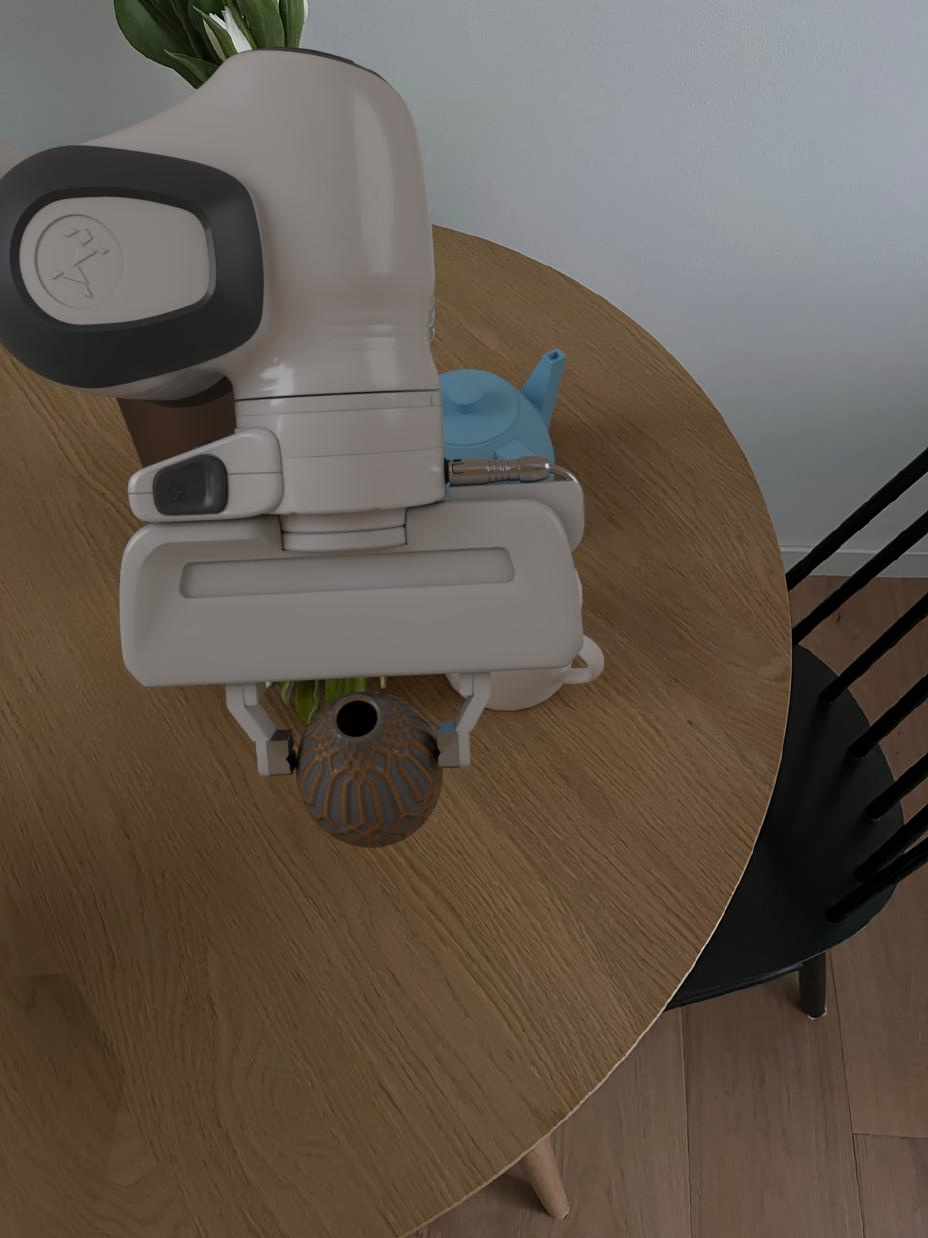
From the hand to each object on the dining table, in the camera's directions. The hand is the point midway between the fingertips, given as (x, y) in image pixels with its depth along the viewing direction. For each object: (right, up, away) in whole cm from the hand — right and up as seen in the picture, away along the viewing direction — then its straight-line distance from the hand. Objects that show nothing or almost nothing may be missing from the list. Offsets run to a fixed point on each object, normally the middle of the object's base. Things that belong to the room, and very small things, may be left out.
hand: (365, 768), depth 49 cm
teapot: (+5, +18, +40) cm, 44 cm away
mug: (+9, +3, +30) cm, 32 cm away
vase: (0, -2, +5) cm, 5 cm away
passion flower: (-6, +4, +31) cm, 32 cm away
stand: (-14, +16, +40) cm, 45 cm away
